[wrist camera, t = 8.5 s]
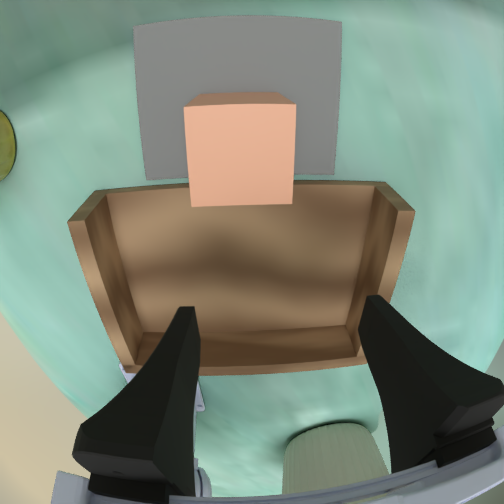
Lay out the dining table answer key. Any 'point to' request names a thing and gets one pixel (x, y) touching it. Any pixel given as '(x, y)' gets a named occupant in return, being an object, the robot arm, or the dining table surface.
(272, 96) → the block
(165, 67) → the mat
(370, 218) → the crate
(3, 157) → the vase
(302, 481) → the canister
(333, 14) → the dining table surface
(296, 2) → the dining table surface
